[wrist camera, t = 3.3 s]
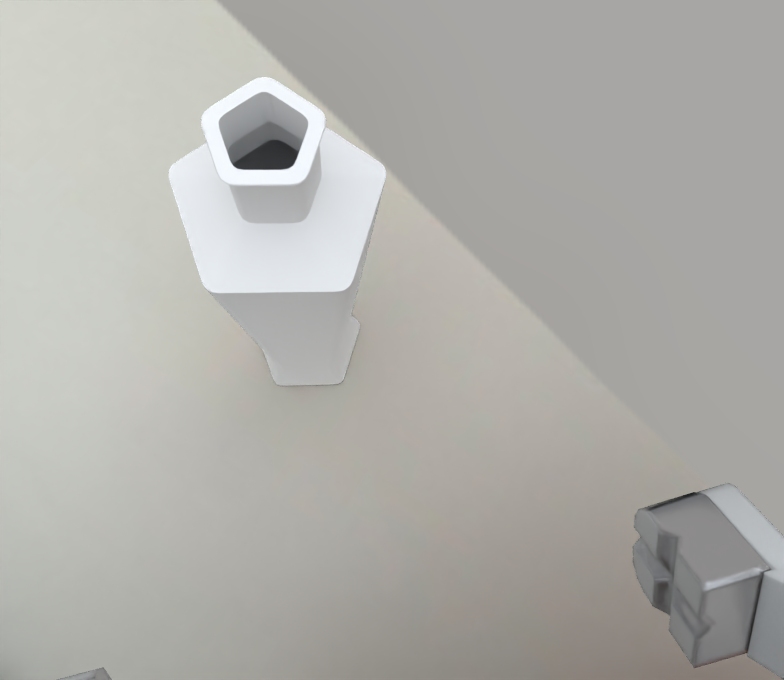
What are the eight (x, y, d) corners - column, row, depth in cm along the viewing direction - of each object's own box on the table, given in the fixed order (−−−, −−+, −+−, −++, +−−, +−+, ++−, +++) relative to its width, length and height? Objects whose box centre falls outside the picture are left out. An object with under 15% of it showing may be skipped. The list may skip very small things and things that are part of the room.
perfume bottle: (296, 428, 26) (232, 316, 12) (226, 334, 27) (84, 118, 12) (395, 354, 27) (452, 164, 12) (325, 265, 28) (302, -14, 13)
